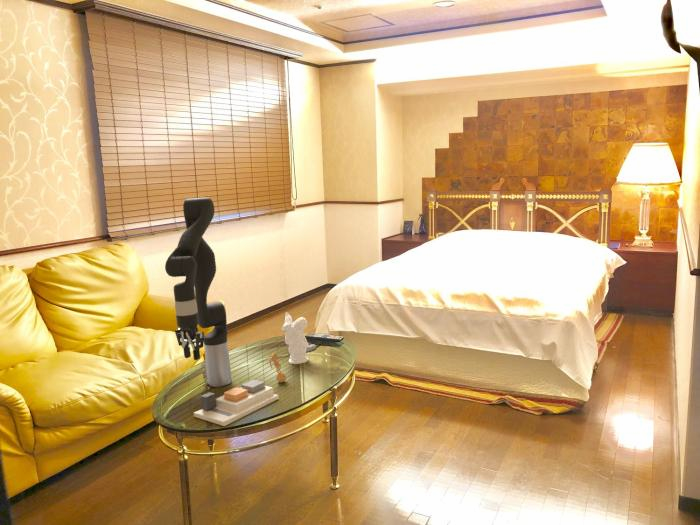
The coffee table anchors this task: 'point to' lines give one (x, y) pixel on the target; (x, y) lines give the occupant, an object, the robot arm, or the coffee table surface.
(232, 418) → the control panel
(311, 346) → the walkie-talkie
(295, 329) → the cherub figurine
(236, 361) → the coffee table surface
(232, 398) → the orange button
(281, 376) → the figurine
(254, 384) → the grey button
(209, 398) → the dark grey block
